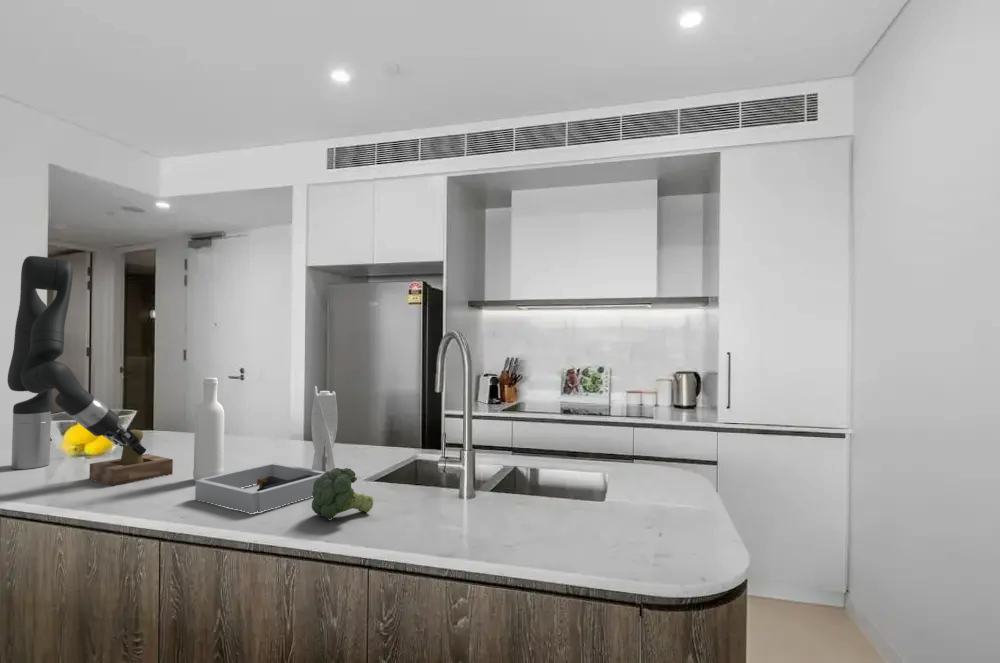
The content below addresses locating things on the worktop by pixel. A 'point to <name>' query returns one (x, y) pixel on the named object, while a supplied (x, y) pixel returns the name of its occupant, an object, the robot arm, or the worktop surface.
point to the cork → (131, 452)
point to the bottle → (209, 434)
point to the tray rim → (231, 494)
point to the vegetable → (338, 494)
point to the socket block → (130, 470)
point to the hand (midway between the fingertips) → (139, 451)
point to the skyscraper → (324, 429)
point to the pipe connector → (276, 481)
